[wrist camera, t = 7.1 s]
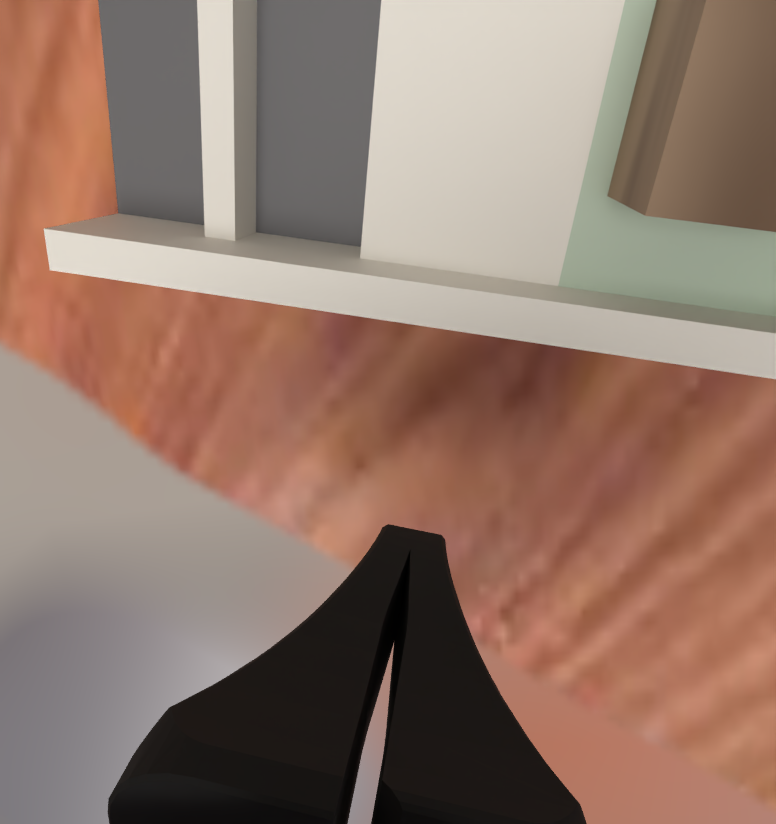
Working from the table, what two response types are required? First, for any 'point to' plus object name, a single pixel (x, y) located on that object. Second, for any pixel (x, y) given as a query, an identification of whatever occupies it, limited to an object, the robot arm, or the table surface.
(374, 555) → the robot arm
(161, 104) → the track
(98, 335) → the table surface
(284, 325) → the table surface
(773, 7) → the walnut block
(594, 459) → the table surface
